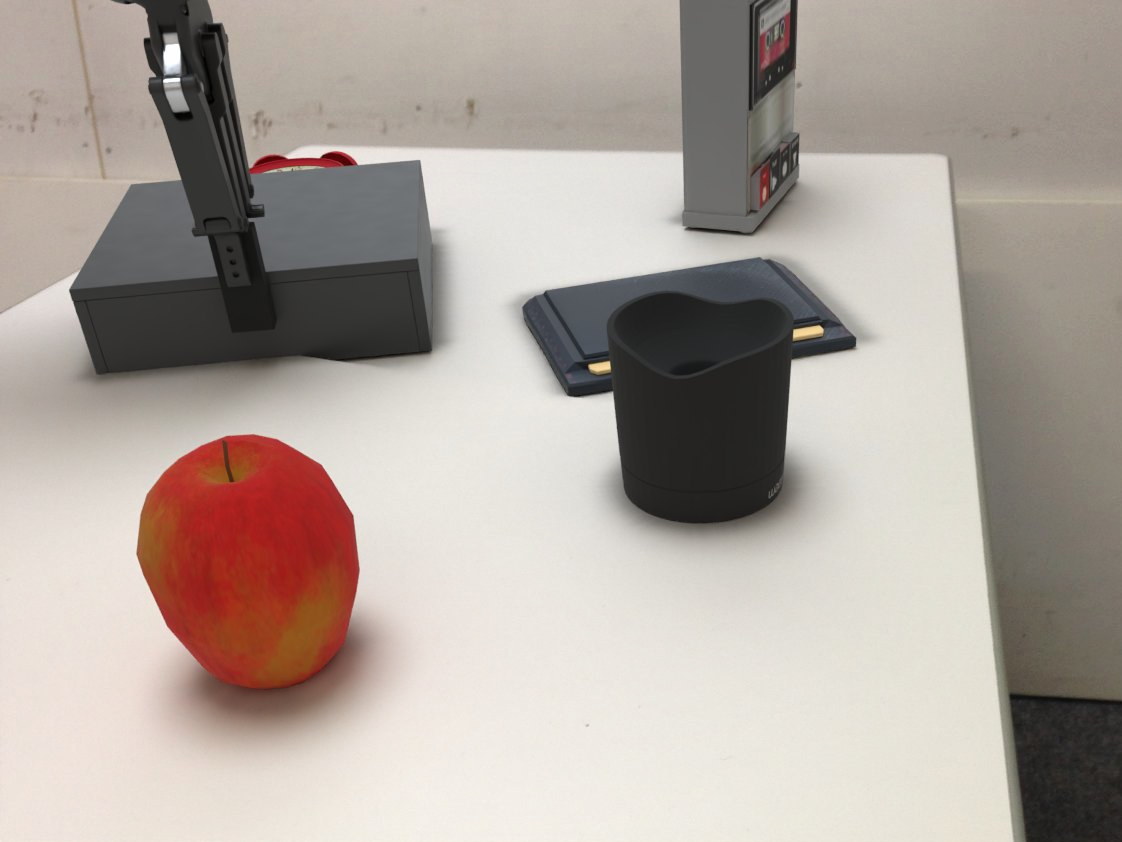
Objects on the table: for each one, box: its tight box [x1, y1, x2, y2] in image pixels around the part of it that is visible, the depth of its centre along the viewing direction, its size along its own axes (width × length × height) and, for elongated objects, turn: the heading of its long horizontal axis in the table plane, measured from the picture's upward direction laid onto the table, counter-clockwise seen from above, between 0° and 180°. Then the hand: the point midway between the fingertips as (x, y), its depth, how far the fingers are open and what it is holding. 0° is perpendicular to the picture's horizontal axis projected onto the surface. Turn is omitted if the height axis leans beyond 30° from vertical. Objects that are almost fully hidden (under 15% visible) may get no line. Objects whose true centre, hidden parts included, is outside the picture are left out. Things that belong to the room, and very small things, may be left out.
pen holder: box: [607, 291, 794, 525], centre depth 67 cm, size 9×9×10 cm
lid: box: [68, 159, 433, 376], centre depth 92 cm, size 22×21×6 cm
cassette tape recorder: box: [679, 0, 800, 234], centre depth 100 cm, size 14×6×25 cm, turn 159°
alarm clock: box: [249, 150, 359, 174], centre depth 108 cm, size 10×6×15 cm
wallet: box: [521, 256, 857, 397], centre depth 87 cm, size 20×2×15 cm
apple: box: [135, 433, 361, 690], centre depth 56 cm, size 9×9×12 cm
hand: (254, 326), depth 83 cm, fingers closed
